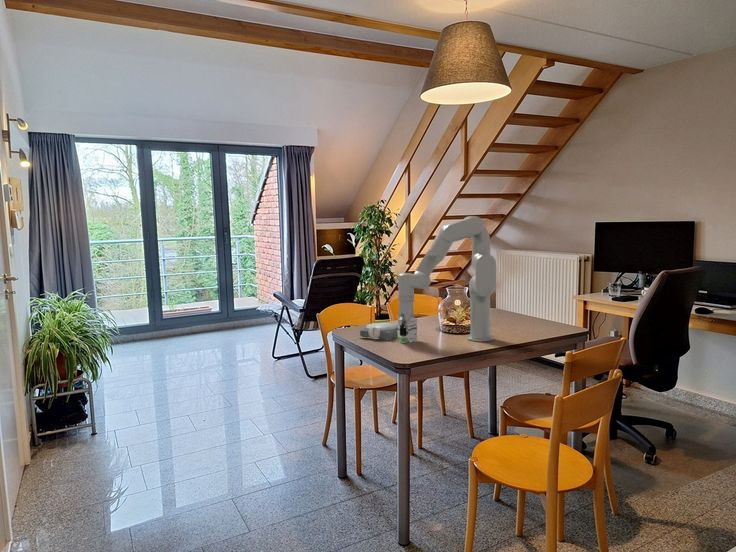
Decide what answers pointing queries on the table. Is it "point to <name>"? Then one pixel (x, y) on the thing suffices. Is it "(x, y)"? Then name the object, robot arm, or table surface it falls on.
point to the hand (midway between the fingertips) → (406, 333)
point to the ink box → (408, 331)
